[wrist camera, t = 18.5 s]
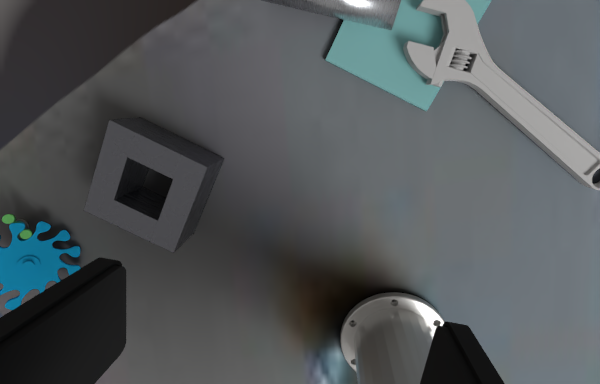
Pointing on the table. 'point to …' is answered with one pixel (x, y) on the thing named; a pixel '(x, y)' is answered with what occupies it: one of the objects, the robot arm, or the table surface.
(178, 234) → the block
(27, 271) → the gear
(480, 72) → the adjustable wrench
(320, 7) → the metal cylinder
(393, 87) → the mat
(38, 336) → the robot arm
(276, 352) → the table surface
